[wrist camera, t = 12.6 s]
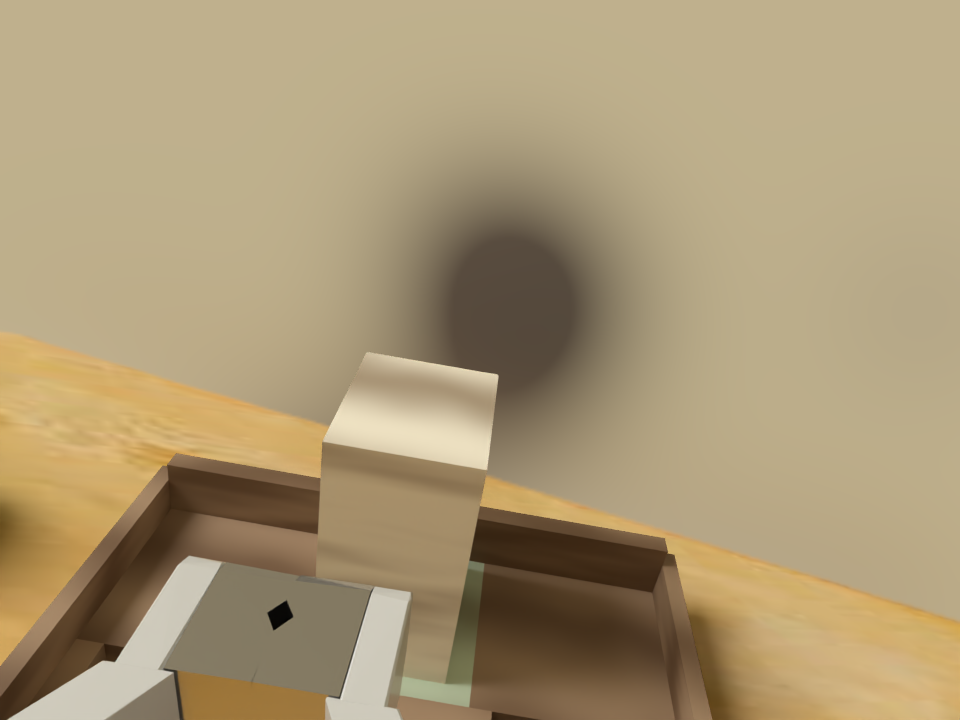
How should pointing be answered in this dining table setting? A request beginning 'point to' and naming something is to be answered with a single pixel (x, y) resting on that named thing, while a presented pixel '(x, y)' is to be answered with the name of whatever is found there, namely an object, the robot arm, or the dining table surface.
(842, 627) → the dining table surface
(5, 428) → the dining table surface
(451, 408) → the birch block
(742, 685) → the dining table surface
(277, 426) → the dining table surface
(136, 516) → the tray
